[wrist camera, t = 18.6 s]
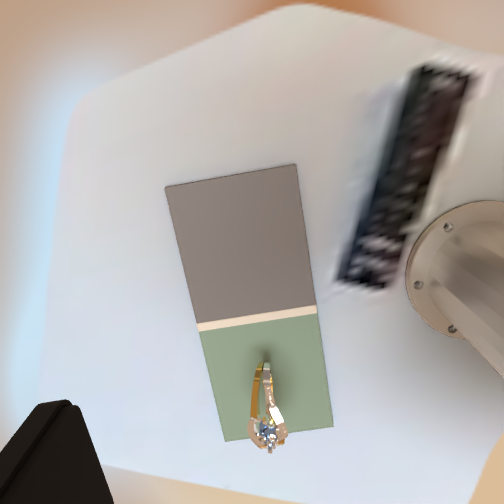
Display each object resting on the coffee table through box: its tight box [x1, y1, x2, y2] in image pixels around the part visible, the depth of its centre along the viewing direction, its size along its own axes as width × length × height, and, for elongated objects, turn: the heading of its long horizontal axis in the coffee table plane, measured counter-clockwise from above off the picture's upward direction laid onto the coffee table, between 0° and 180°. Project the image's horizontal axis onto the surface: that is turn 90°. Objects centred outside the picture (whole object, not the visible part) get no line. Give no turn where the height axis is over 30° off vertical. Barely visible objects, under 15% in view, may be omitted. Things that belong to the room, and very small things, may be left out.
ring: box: [247, 361, 288, 453], centre depth 37 cm, size 7×3×8 cm, turn 3°
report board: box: [165, 164, 334, 442], centre depth 39 cm, size 11×26×1 cm, turn 10°
